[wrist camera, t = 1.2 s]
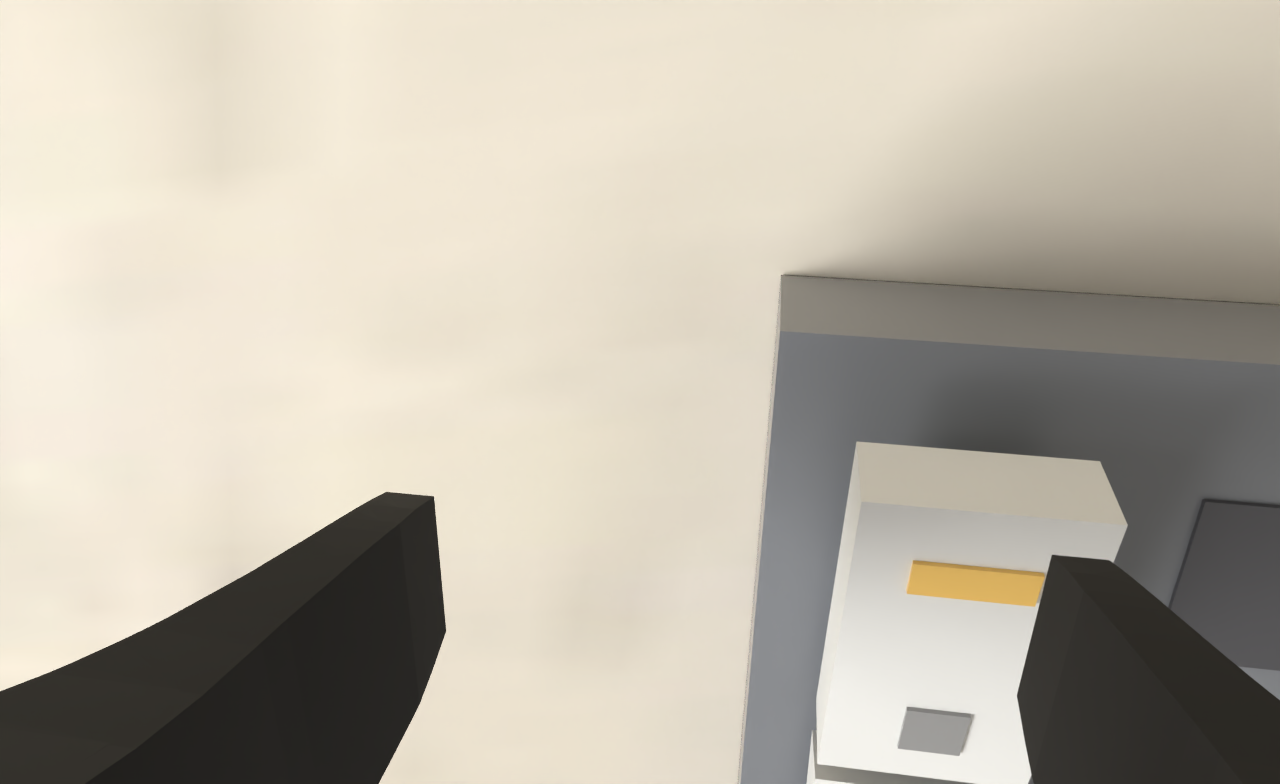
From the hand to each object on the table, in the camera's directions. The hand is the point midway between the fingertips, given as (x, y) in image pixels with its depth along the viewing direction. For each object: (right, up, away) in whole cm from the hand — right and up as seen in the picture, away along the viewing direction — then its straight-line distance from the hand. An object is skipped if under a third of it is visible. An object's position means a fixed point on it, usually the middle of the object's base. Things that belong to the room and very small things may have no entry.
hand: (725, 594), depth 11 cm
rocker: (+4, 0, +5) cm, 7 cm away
